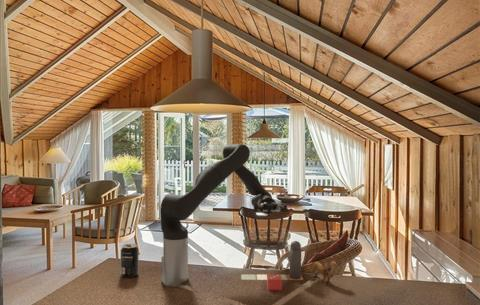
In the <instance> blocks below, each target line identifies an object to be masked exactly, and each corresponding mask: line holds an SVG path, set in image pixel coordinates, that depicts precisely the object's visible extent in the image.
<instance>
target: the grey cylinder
mask: <svg viewBox="0 0 480 305" xmlns="http://www.w3.org/2000/svg"><path fill="white" fill-rule="evenodd" d="M301 247H302V245H301V242H299V241H297V240H294V241H292V242H291V243H290V248H289V272H288V273H289V274H288V275H289V277H290V278H292V279H300V278H301V276H302V248H301Z"/></svg>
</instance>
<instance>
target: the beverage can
mask: <svg viewBox="0 0 480 305" xmlns="http://www.w3.org/2000/svg"><path fill="white" fill-rule="evenodd" d="M121 246H122V248H120V276H121V277H123V278H134V277H135V276H137V275H138V274H139V248H138V245H137V244H136V243H126V244H123V245H121Z"/></svg>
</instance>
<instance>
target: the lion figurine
mask: <svg viewBox="0 0 480 305" xmlns="http://www.w3.org/2000/svg"><path fill="white" fill-rule="evenodd" d="M339 271H340V266H338V264H337V262H336V261H333V260H332V261H329V262H327V263H323V264H321V262H320V261H315V262H314V263H313V264H312V270H311V272H310V274H312V276H313V277H312V281H317V277H318V275H316V274H319V275H320V276H323V277H322V278H323V279H322V280H323V286H328V285H331V284H332V281H330V280H331V279H332V278H333V277H334V276H336V275H337V274H338V273H339Z"/></svg>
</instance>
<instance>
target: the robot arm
mask: <svg viewBox="0 0 480 305" xmlns="http://www.w3.org/2000/svg"><path fill="white" fill-rule="evenodd" d="M250 153H251V152H250V148H249V146H247V145H246V144H244V143H235V144H234V143H232V144H227V145H225V146H224V147H223V150H222V157H223V159H221V160H220V159H219V160H218V161H216V162H213V163H211V164H209V165H208V166H206V167H205V168H204V169H202V171H200V172H199V173H198V174H197V176H196V178H195V182H194V186H193V187H192V188H191V189H190V190H189V191H188V192H187V193H184V194H182V195H180V194H171V193H170V194H166V195H165V196H164V197H163V199H162V200H161V203H160V213H159V214H160V229H161V231H162V237H163V238H162V240H163V242H162V243H163V244H162V245H163V246H162V250H163V251H162V256H161V263H160V264H161V266H160V267H161V276H160V277H161V279H160V280H161V283H163V285H164V286H167V287H173V288H174V287H181V286H184V285H186V284H185V283H184V282H186V281H188V278H189V277H188V276H189V273H188V272H189V231H188V229H187V228H186V227H185V226H184V225H183V224H182V222H181V221H184V220H187V219H188V218H189V217H190V216H192V214H193V213H194V212H195V211H196V210H197V209H198V207H199V206H200V205H201V204H202V202H203V201H204V200H205V199H207V198H208V196H210V194H211V193H212V192H214V191H215V190H216V189H217V188H218V187H219V186H220V185H221V184H222V183H223V182H224V181H225V180H227V178H229V177H230V176H231V175H232V174H233V173H235V174H236V176H237V177H238V178H239V179H240V180H241V182H242V183H243V185H244V187H245V188H246V189H247V191H248V193H249V194H250V195H251V196H253V197H252V198H251V200H250V202H251V205H252V207H253V211H254V212H257V211H258V212H261V213H263V214H266V215H271V214H273V213H274V212H280V213H285V212H287V211H288V204H285V203H277V202H276V200H275V199H273V197H272V194H271V193H270V192H269V191H268V190H267V189H265V188H264V186H263V185H262V184H261V182H260V180H259V178H258V176H257V175H255V174H254V172H252V171H251V170H250V169H248V168H247V167H246V166H245V164H246V163H247V162H248V160H249V159H250V157H251V156H250V155H251V154H250Z"/></svg>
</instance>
